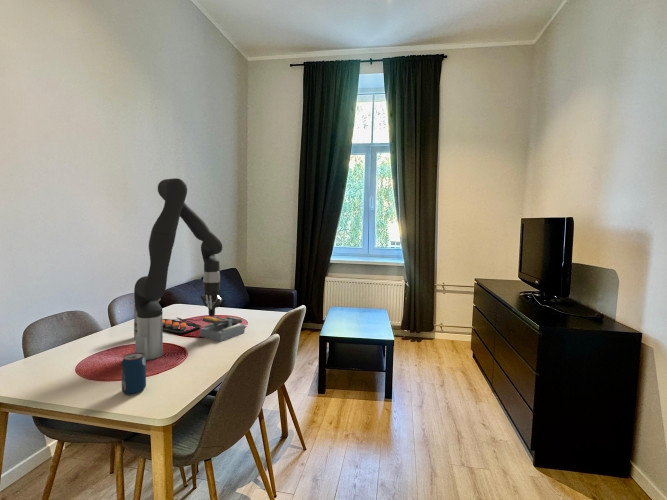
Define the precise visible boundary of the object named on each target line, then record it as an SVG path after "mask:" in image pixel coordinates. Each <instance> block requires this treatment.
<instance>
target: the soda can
mask: <svg viewBox="0 0 667 500" xmlns="http://www.w3.org/2000/svg"><path fill="white" fill-rule="evenodd" d="M146 361H147V360H146V359H145V357H144V354H143V353H135V352H131V353H128V354H125V355H124V356H123V358H122V361H121V368H120V369H121V391H122V392H123V393H124V395H126V396H134V395H138V394H141V393H142V392H144V390H145V388H146V387H147V362H146Z"/></svg>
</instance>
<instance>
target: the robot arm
mask: <svg viewBox="0 0 667 500" xmlns="http://www.w3.org/2000/svg"><path fill="white" fill-rule="evenodd" d="M157 192H158V194H159V196H160V197H161V199H162V200H163V201H164V204H163V208H162V210H161V212H160V214H159V215H158V218H157V219H156V221H155V222H154V224H153V225H152V228H151V231H150V236H149V240H148V253H149V262H150V263H149V269H148V273H147V275H144V276H142V277H139V278H138V280H137V281H136V282H135V284H134V291H133V293H134V294H133V297H134V305H135V309H136V311H137V335H135V337H134V345H135V346H134V348H135V349H134V350H135V352H134V353H143V354H144V357H145V359H146V361H148V360H154V359H155V360H156V359H158V358H161V357H162V356H163V355H164V350H163V349H164V345H163V343H164V342H163V341H164V339H163V338H164V335H163V332H164V330H163V319H164V318H163V308H162V306H161V304H160V302H159V300H160V299H161V298H162V297H163V296H164V294H165V293H166V290H167V284H168V283H167V281H168V272H169V267H170V261H171V256H172V252H173V247H174V245H175V240H176V235H177V230H178V226H179V222H180V219H182V221H183V222H184V223H185V224H186V226H187V227H188V229H189V230H190V232H191V233H192V234H193V236H194V237H195V238H196V239H197V240H199V241H201V245H200V252H201V256H202V260H203V282H202V283H203V291H204V294H203V295H200V298H201V301H202V302H203V304H204V306H205V308H207V309H208V317H212V318H213V317H215V315H216V309H217V308H219V307H220V305H221V304H222V302H223V300H224V298H223V297H220V293H219V292H220V290H221V273H220V260H219V259H217V258H216V255H218V254H220V253H221V252H222V251H223V247H224V246H223V243H222V240H220V239H219V237H218V236H217V235H216V234H215V233H214V232H212V231H211V230H210V228H209V227H208V225H207V223H206V222H205V221H204V220H203V218H202V217H201V216H200V215H199V213H197V212H196V211H195V210H194V209H192V208H191V207H190V206H189V205H188V204H187V203H186V201H185V200H186V198H187V194H188V186H187V183H186V182H185V181H184V180H183V179H181V178H166V179H162V180H161V181H159V183H158V184H157Z"/></svg>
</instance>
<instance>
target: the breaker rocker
mask: <svg viewBox="0 0 667 500" xmlns="http://www.w3.org/2000/svg"><path fill="white" fill-rule="evenodd" d="M202 319H203V320H201V321H202V322H205V323H208V324H211V323H213V324H222V323H226V324H228V320H230V319H231V320H232V323H237V324H242V323H243V320H242V318H237V317H234V316H226V318H225V317H223V318H222V317H221V318H220V317H218V318H214V317H213V316H212V317H211V316H204V317H203V318H202Z"/></svg>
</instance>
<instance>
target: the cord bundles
mask: <svg viewBox="0 0 667 500" xmlns="http://www.w3.org/2000/svg"><path fill="white" fill-rule="evenodd" d="M241 324H242V323H237V325H234V326H231V327H228V328H225V329H222V331H223V332H224V331H227V330H230V329H232V328H235V327H238V326H241ZM212 325H214V324H213V323H208V324H205V325H204V327H209V326H212Z"/></svg>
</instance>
